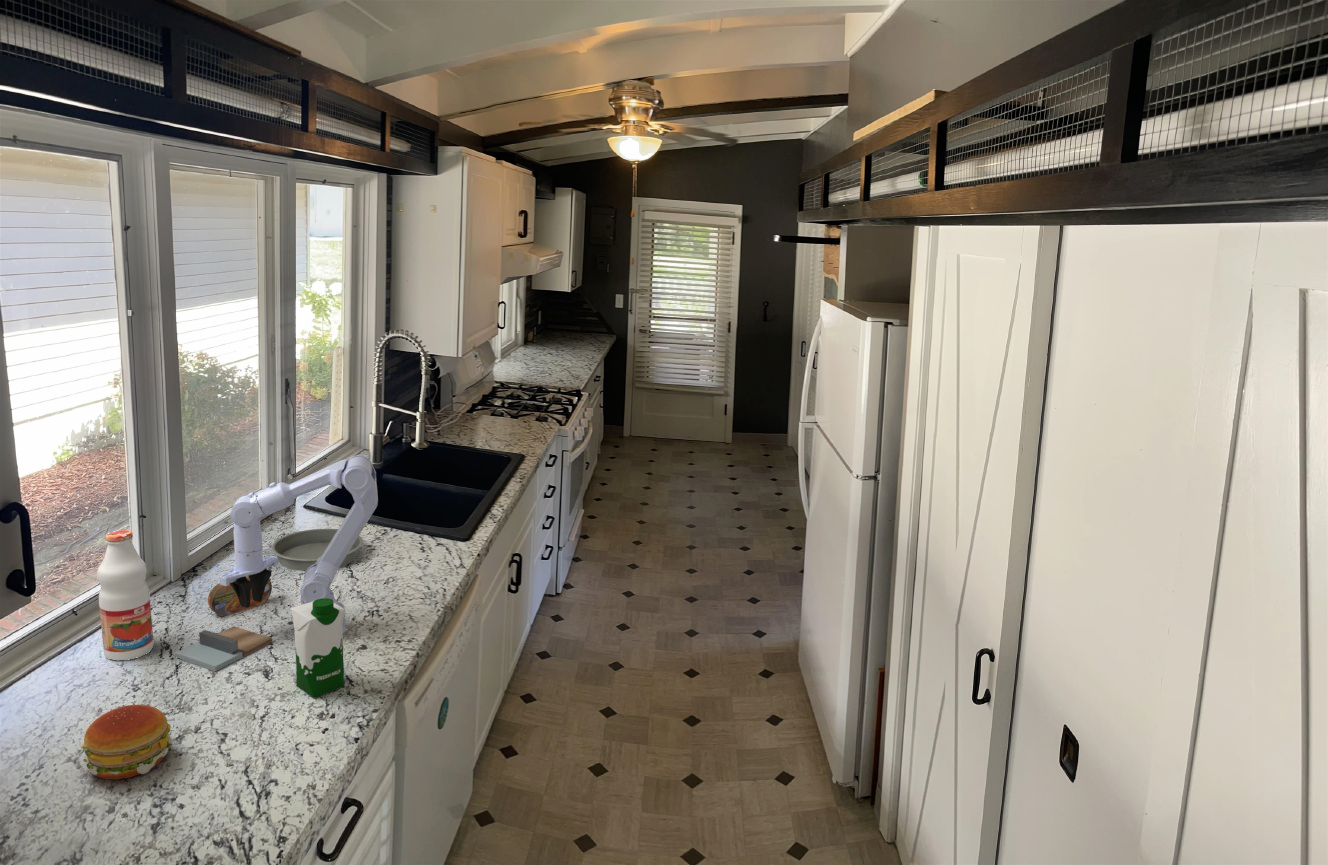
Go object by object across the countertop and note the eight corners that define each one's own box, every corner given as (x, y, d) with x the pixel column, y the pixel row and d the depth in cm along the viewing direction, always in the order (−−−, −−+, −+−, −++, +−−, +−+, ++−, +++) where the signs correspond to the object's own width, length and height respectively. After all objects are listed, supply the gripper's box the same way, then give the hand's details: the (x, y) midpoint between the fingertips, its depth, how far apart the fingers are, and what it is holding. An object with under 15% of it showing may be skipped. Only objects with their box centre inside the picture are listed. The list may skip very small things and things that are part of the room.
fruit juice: (138, 637, 195) (128, 522, 188) (163, 649, 190) (153, 532, 184) (95, 654, 187) (83, 534, 180) (119, 666, 182) (107, 544, 176)
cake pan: (252, 565, 239) (251, 549, 238) (311, 537, 262) (311, 523, 261) (326, 580, 232) (325, 564, 231) (380, 550, 255) (380, 536, 254)
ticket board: (272, 642, 197) (272, 637, 196) (243, 657, 189) (243, 652, 189) (234, 630, 201) (233, 625, 201) (204, 644, 194) (204, 639, 193)
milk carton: (311, 702, 174) (308, 612, 169) (289, 685, 180) (285, 598, 175) (350, 686, 181) (348, 599, 176) (328, 670, 186) (325, 586, 182)
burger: (72, 763, 151) (67, 712, 149) (155, 731, 161) (151, 683, 159) (102, 796, 143) (97, 744, 141) (187, 761, 153) (183, 711, 151)
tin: (213, 620, 205) (211, 588, 203) (206, 616, 207) (204, 584, 205) (273, 602, 217) (272, 571, 215) (266, 598, 219) (265, 567, 217)
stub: (242, 657, 189) (241, 640, 188) (215, 671, 183) (214, 654, 182) (203, 644, 193) (202, 628, 192) (175, 657, 187) (174, 641, 186)
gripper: (261, 535, 202) (263, 588, 205) (208, 555, 189) (211, 611, 192) (283, 541, 199) (286, 594, 202) (231, 561, 186) (234, 618, 189)
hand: (251, 603), depth 197 cm, fingers open, 3 cm apart
